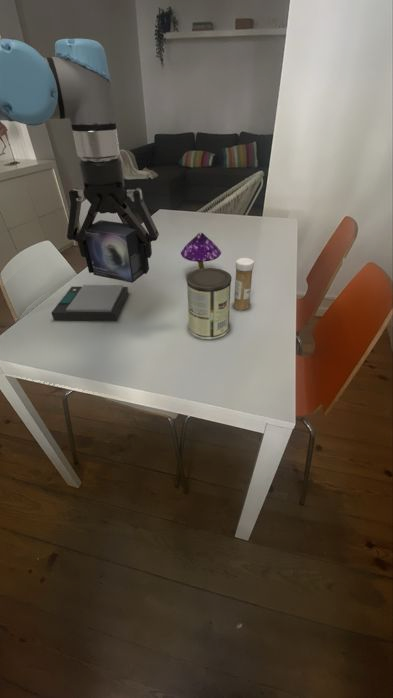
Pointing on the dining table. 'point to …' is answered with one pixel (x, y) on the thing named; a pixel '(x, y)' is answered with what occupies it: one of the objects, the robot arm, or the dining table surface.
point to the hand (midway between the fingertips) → (119, 270)
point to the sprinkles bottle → (243, 283)
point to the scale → (91, 303)
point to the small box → (114, 250)
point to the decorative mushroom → (200, 250)
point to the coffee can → (208, 302)
